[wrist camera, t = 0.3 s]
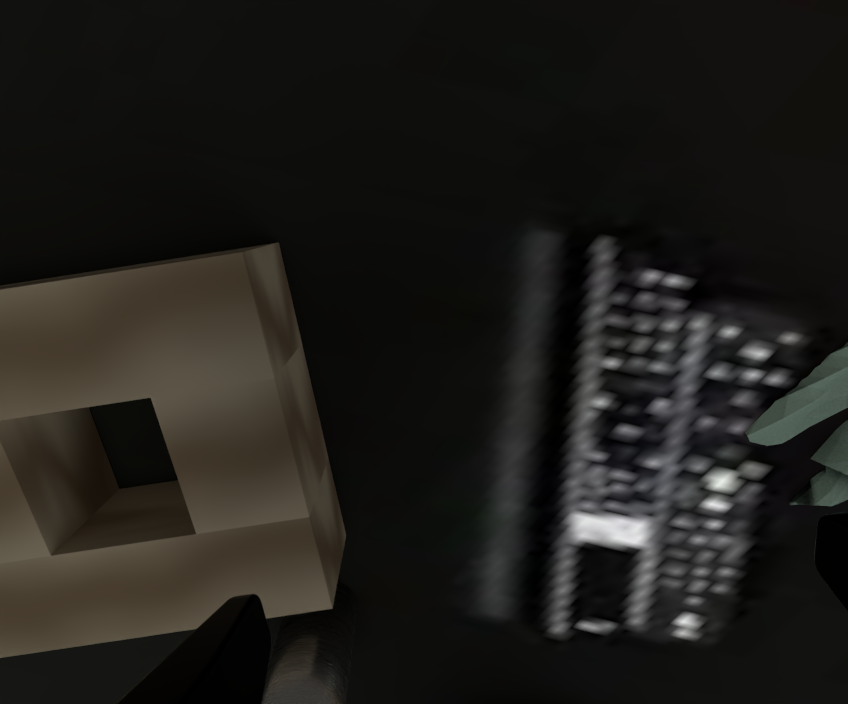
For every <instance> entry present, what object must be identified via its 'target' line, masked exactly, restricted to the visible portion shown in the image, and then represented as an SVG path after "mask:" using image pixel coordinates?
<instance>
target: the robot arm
mask: <svg viewBox="0 0 848 704" xmlns="http://www.w3.org/2000/svg"><path fill="white" fill-rule="evenodd" d="M814 560H815V565H816V567H817V570H818V572H819V574H820V575H821V577H822V578H823V579H824V581H825V582H826V583H827V585H828V586H829V587H830V588H831V590H832V591H833V592H834V594H835V595H836V596H837V597H838V599H839V600H840V601H841V603H842V604H843V605H844V606H845V608H846V609H847V610H848V512H842V513H835V514H828V515H824V516H822V517H821V518H820V519H819V521H818V524H817V533H816V544H815V555H814ZM270 650H271V636H270V631H269V628H268V624H267V621H266V617H265V613H264V610H263V606H262V603H261V600H260V598H259V596H258V595H256V594H247V595H240V596H234V597H231V598H230V599H228V600H227V601H226V602H225V603H224V604H223V605H222V606H221V607H220V608H219V609H217V610H216V611H215V612H214V613H213V614H212V615H211V616H210V617H209V618H208V619H207V620H206V621H204V622H203V623H202V624H201V625H200V626H199V627H198V628H197V629H196V630H195V631H194V632H193V633H192V634H190V635H189V636H188V637H187V638H186V639H185V640H184V641H183V642H182V643H181V644H180V645H179V646H178V647H176V648H175V649H174V650H173V651H172V652H171V653H170V654H169V655H168V656H167V657H166V658H165V659H164V660H162V661H161V662H160V663H159V664H158V665H157V666H156V667H155V668H154V669H153V670H152V671H151V672H150V673H148V674H147V675H146V676H145V677H144V678H143V679H142V680H141V681H140V682H139V683H138V684H137V685H135V686H134V687H133V688H132V689H131V690H130V691H129V692H128V693H127V694H126V695H125V696H124V697H123V698H121V699H120V700H119V701H118V702H117V703H116V704H261V703H262V697H263V692H264V686H265V680H266V674H267V668H268V662H269V656H270Z"/></svg>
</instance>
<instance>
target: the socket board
mask: <svg viewBox="0 0 848 704" xmlns="http://www.w3.org/2000/svg"><path fill="white" fill-rule="evenodd" d="M145 398H151V400H152V403H153V406H154V409H155V412H156V415H157V418H158V421H159V424H160V427H161V430H162V433H163V436H164V439H165V442H166V445H167V448H168V451H169V454H170V457H171V460H172V463H173V466H174V469H175V472H176V475H177V478H178V480H175V481H169V482H162V483H156V484H149V485H142V486H136V487H129V488H122V489H119V486H118V484H117V481H116V478H115V476H114V473H113V470H112V468H111V465H110V462H109V460H108V457H107V455H106V452H105V449H104V447H103V444H102V441H101V439H100V436H99V433H98V431H97V428H96V425H95V423H94V420H93V417H92V415H91V412H90V409H89V407H92V406H99V405H105V404H112V403H118V402H125V401H131V400H138V399H145ZM345 539H346V532H345V528H344V524H343V519H342V515H341V511H340V506H339V502H338V498H337V493H336V489H335V485H334V480H333V476H332V471H331V467H330V463H329V458H328V454H327V450H326V445H325V441H324V437H323V432H322V428H321V424H320V419H319V415H318V411H317V406H316V402H315V398H314V393H313V389H312V385H311V380H310V376H309V372H308V367H307V363H306V359H305V354H304V350H303V346H302V341H301V337H300V333H299V328H298V324H297V320H296V315H295V311H294V307H293V302H292V298H291V294H290V289H289V285H288V280H287V276H286V272H285V267H284V263H283V259H282V254H281V250H280V246H279V242H278V243H272V244H265V245H259V246H252V247H246V248H239V249H233V250H227V251H220V252H214V253H207V254H201V255H195V256H188V257H182V258H175V259H169V260H162V261H156V262H150V263H143V264H137V265H130V266H124V267H118V268H111V269H105V270H98V271H92V272H85V273H79V274H73V275H66V276H60V277H53V278H47V279H41V280H34V281H28V282H21V283H15V284H8V285H2V286H0V658H2V657H9V656H16V655H22V654H29V653H36V652H43V651H50V650H56V649H63V648H70V647H77V646H83V645H90V644H97V643H104V642H110V641H117V640H124V639H131V638H138V637H144V636H151V635H158V634H165V633H171V632H178V631H185V630H192V629H197V628H198V627H199V626H200V625H201V624H202V623H203V622H204V621H206V620H207V619H208V618H209V617H210V616H211V615H212V614H213V613H214V612H215V611H216V610H217V609H219V608H220V607H221V606H222V605H223V604H224V603H225V602H226V601H227V600H228V599H230V598H231V597H234V596H240V595H247V594H256V595H258V596H259V598H260V600H261V603H262V606H263V610H264V613H265V617H266V618H273V617H280V616H287V615H293V614H300V613H307V612H314V611H321V610H327V609H333V603H334V598H335V593H336V587H337V582H338V577H339V571H340V566H341V560H342V555H343V550H344V544H345Z"/></svg>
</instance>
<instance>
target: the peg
mask: <svg viewBox="0 0 848 704" xmlns="http://www.w3.org/2000/svg"><path fill="white" fill-rule="evenodd" d="M356 614H357V601H356V598H355V596H354V594H353V593H352V592H351V591H350V589H349V588H347V587H346V586H345V585H343V584H342V583H340V582H337V587H336V593H335V598H334V603H333V609H327V610H321V611H314V612H307V613H300V614H293V615H287V616H284V617H283V620H282V623H281V626H280V630H279V633H278V636H277V640H276V643H275V646H274V649H273V653H272V656H271V659H270V663H269V666H268V669H267V674H266V680H265V686H264V692H263V697H262V703H261V704H345V702H346V694H347V686H348V678H349V670H350V662H351V654H352V646H353V638H354V630H355V622H356Z"/></svg>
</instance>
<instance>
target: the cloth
mask: <svg viewBox="0 0 848 704" xmlns="http://www.w3.org/2000/svg"><path fill="white" fill-rule="evenodd" d="M845 408H848V342H847V343H846V345H845V346H844V347H842V348H840V349H838V350H837V351H835V352H833V353H831V354H830V355H829V356H828V357H827V358H826V359H825V360H824V361H823V362H822V363H821V364H820V365H819V366H818V367H816V368H815V369H814V370H813V371H812V373H811V374H810V375H809V376H808V377H806V378H805V379H803V380H802V381H801V382H800V383H799V385H798V386H797V387H796V388H794V389H793V390H791V391H790V392H788V393H787V394H786V395H785V396H784V397H782V398H780V399H778V400H777V401H775V402H774V404H773V405H772V406H771V407H770V408H769V409H768V410H767V411H766V412H765V413H764V414H762V415H761V416H760V417H759V418H758V420H757V421H756V422H755V423H754V424H753V425H752V426H751V427H750V428H749V429H748V430H747V432H746V435H747V437H748V439H749V441H750V442H754V443H758V444H762V445H767V446H769V445H775V444H782V443H783V442H785V441H787V440H789V439H791V438H792V437H794V436H796V435H797V434H799V433H800V432H802V431H804V430H805V429H807V428H808V427H810V426H812V425H814V424H816V423H818V422H820V421H822V420H824V419H826V418H828V417H830V416H832V415H834V414H835V413H837V412H839V411H841V410H843V409H845ZM811 459H812V460H814V461H816V462H819V463H821V464H823V465H826V466H825V470H824V471H822V472H820V473H818V474H817V475H816V476H814V477H813V478H812V479H811V480H810V485H809V486H807V487H805V488H803V489H802V490H801V491H800V492H799V493H798V494H797V495H796V496H795V497H794V498H793V499H792V500H791V502H790V503H789V504H790V505H796V504H797V505H819V506H833V505H836V504H839V503H841V502H843V501H846V500H848V420H847V421H846V422H844V423H843V424H842V425H841V426H840V427H839V428H837V429H836V430H835V431H834V433H833V434H832V435H831V436H830V437H829V438H828V439H827V441H826V442H825V443H824V444H823V445H822V446H821V447H820V449H819V450H818V451H817V452H816V453H815V454H814V455H813V457H812V458H811Z"/></svg>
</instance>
